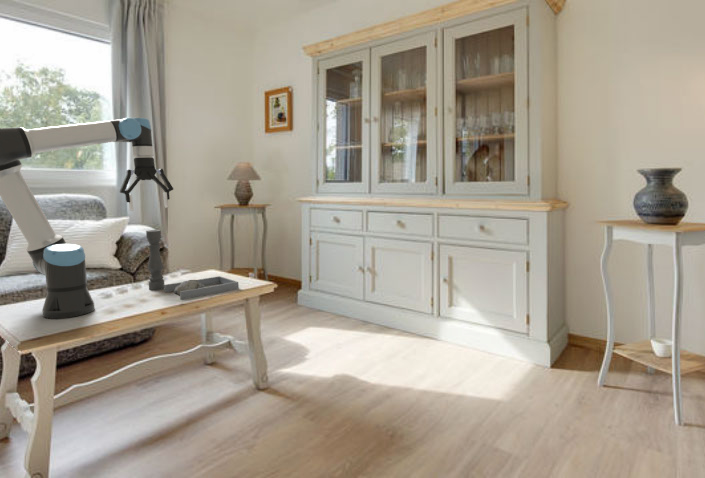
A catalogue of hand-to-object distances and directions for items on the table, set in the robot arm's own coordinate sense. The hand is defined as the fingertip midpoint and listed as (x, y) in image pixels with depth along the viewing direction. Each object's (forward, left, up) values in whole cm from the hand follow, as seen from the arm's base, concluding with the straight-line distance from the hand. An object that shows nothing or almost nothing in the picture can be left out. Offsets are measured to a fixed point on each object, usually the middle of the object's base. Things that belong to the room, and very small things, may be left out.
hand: (149, 209), depth 180 cm
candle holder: (+1, 0, -34) cm, 34 cm away
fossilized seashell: (+9, -17, -35) cm, 40 cm away
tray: (+14, -17, -34) cm, 40 cm away
